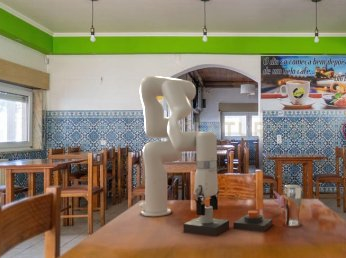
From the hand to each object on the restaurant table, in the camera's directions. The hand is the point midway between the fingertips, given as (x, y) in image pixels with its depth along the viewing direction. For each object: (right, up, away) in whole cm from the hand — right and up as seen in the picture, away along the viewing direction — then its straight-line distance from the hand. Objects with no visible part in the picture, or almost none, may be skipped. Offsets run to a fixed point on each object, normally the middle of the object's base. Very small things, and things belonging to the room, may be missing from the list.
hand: (207, 212), depth 129 cm
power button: (+17, -3, +5) cm, 18 cm away
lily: (+31, -7, +24) cm, 39 cm away
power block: (+17, -7, +5) cm, 19 cm away
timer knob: (0, -4, 0) cm, 4 cm away
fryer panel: (0, -7, 0) cm, 7 cm away
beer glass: (+32, -7, +7) cm, 33 cm away
